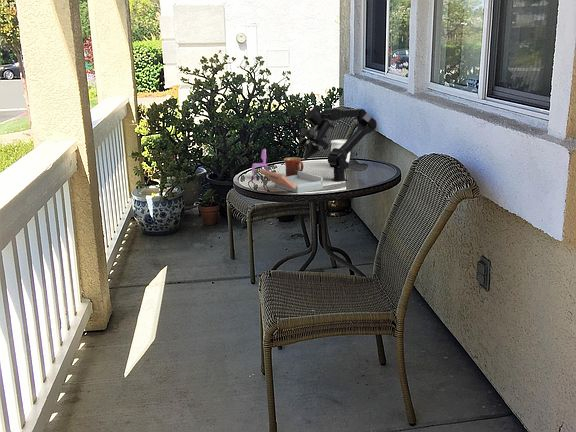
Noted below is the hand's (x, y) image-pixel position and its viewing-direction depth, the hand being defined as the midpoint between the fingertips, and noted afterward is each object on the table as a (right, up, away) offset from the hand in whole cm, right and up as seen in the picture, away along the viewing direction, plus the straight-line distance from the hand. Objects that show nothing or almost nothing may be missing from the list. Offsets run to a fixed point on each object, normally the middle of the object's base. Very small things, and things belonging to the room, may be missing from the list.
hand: (304, 158), depth 279 cm
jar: (+21, 0, +47) cm, 52 cm away
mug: (-4, -8, +23) cm, 25 cm away
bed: (-3, -13, +3) cm, 14 cm away
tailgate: (-10, -12, -2) cm, 16 cm away
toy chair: (-22, -7, +29) cm, 37 cm away
